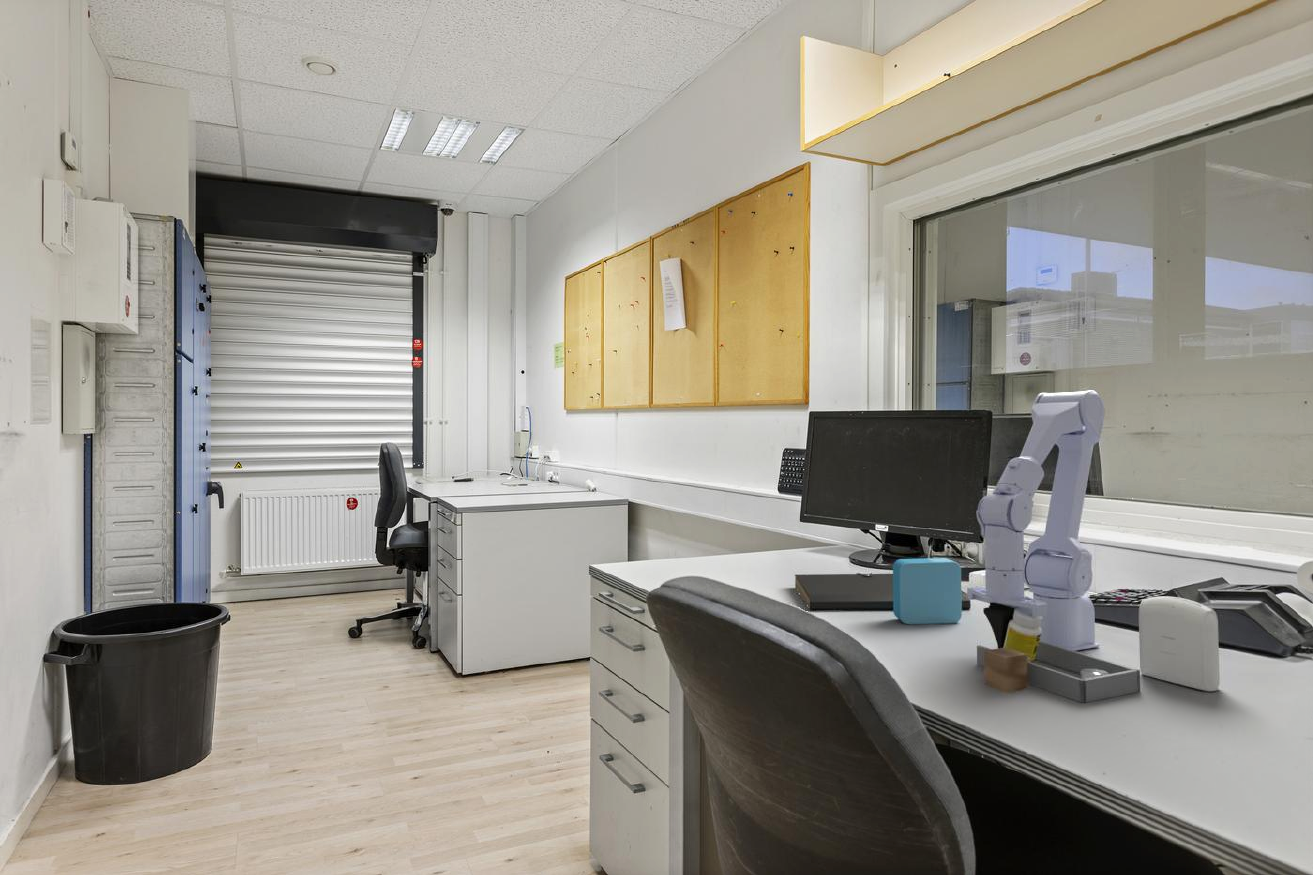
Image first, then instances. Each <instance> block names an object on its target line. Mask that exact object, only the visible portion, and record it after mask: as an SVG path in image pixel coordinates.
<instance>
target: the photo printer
mask: <svg viewBox="0 0 1313 875" xmlns="http://www.w3.org/2000/svg"><path fill="white" fill-rule="evenodd" d="M1138 635H1139V636H1138V638H1139V639H1138V640H1139V642H1138V643H1139V668H1140V674H1142V675H1143V676H1146V677H1150V678H1155V679H1158V680H1161V681H1166V682H1169V683H1173V684H1178V685H1181V686H1185V687H1189V688H1193V689H1196V690H1199V691H1200V690H1201V691H1204V692H1216V691H1218V690H1219V687H1220V682H1221V680H1220V678H1221V677H1220V650H1219V647H1220V646H1219V644H1220V643H1219V619H1218V615H1217V612H1216V611H1215V610H1214V609H1213V608H1210V607H1208V606H1206V605H1205V604H1202V603H1200V602H1197V601H1194V600H1191V599H1188V598H1183V597H1177V596H1168V595H1166V596H1162V595H1161V596H1153V597H1148V598H1143V599H1142V600H1141V602H1140V604H1139V608H1138Z"/></svg>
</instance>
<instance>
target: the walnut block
mask: <svg viewBox="0 0 1313 875" xmlns="http://www.w3.org/2000/svg"><path fill="white" fill-rule="evenodd" d="M984 654H985V667H984V684H985V685H986V686H989V687H992V688H994V689H997V690H998V691H1002V692H1005V693H1009V692H1010V693H1012V692H1016V691H1021V690H1027V689H1028V683H1027V654H1024V653H1021V652H1018V651H1015V650H1011V649H1008V648H998V647H997V648H992V650H986V651H984Z"/></svg>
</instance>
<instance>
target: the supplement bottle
mask: <svg viewBox="0 0 1313 875" xmlns="http://www.w3.org/2000/svg"><path fill="white" fill-rule="evenodd" d="M1041 621H1042V617H1034V616H1032V614H1028V613H1025V612H1024V611H1023V610H1021V609H1019V608H1017V609H1015V611H1014V614H1013V619H1012V620H1011V621H1010V622H1009V625H1008V630H1007V634H1006V639H1005V643H1004V647H1003V648H1008V649H1011V650H1015V651H1018V652H1021V653H1024V654H1027V661H1028V662H1031V663H1034V664H1035V663H1036V662H1035V661H1036V659H1035V658H1036V653H1037V649H1038V645H1039V641H1040V636H1041V632H1042V631H1041V628H1040V625H1041Z"/></svg>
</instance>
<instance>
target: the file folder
mask: <svg viewBox="0 0 1313 875" xmlns="http://www.w3.org/2000/svg"><path fill="white" fill-rule="evenodd" d="M794 578H795V580H794V581H795V582H794V586H795V587H794V588H795V590H796V589H797V590H798V592H799V593H800V595H801V596H802V597H801V596H800V595H799V596H800V597H801V599H802V598H803V599H802V601H803V600H804V601H805V602H804V601H803V602H804V604H805V603H806V604H807V605H808V607H809V608H808V607H807V608H808V610H809V609H810V610H809V611H810V612H812V611H815V612H817V611H816V610H843V611H893V573H872V572H871V573H859V572H857V573H840V574H839V573H831V574H829V573H827V574H826V573H823V574H821V573H820V574H814V573H813V574H808V573H807V574H794ZM797 590H796V591H797ZM798 592H797V593H798ZM799 593H798V594H799ZM961 597H962V611H963V610H964V611H965V610H970V609H971V606H972V605H971V600H970V599H967V593H966V592H965V591H964V590H962V589H961ZM806 604H805V605H806ZM807 605H806V606H807ZM811 610H812V611H811Z"/></svg>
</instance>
